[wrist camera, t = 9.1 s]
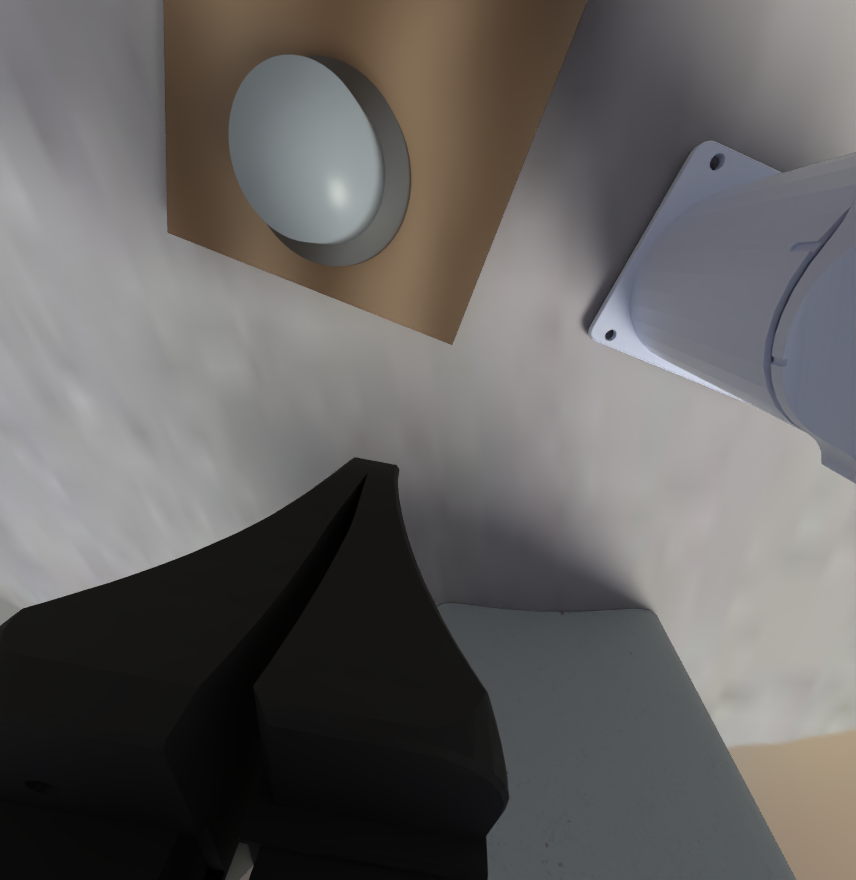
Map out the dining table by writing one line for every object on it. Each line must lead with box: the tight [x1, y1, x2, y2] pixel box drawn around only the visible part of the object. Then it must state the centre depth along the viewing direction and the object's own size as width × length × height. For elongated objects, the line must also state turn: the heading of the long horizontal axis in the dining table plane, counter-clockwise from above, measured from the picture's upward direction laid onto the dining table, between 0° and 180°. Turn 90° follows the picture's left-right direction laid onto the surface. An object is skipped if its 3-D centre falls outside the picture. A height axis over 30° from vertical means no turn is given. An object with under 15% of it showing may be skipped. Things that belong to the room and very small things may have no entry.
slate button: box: [229, 55, 385, 245], centre depth 12 cm, size 5×5×2 cm
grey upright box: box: [437, 603, 796, 880], centre depth 17 cm, size 17×5×25 cm, turn 95°
